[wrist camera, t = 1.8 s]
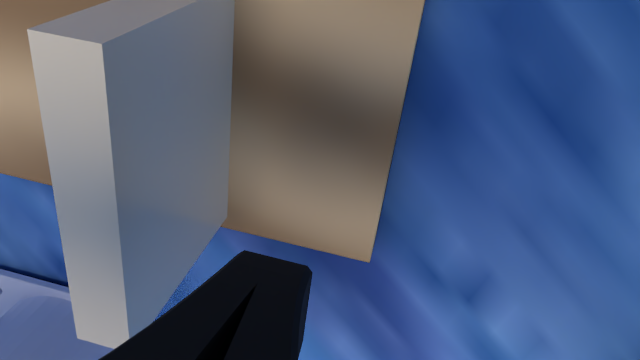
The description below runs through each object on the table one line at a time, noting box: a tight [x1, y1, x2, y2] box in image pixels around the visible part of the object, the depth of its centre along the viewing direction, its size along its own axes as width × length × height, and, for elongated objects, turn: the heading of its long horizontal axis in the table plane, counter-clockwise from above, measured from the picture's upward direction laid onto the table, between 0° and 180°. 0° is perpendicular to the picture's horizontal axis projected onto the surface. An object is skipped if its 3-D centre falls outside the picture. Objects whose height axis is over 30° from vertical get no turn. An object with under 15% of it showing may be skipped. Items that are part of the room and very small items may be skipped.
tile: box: [27, 0, 235, 349], centre depth 15 cm, size 8×2×6 cm, turn 174°
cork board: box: [0, 0, 425, 263], centre depth 17 cm, size 12×15×1 cm
